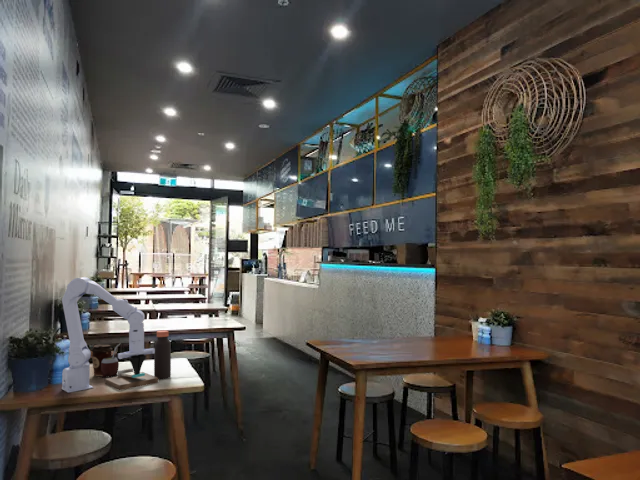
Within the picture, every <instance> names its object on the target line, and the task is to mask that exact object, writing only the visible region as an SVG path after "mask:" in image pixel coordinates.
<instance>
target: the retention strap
mask: <svg viewBox="0 0 640 480" xmlns="http://www.w3.org/2000/svg"><path fill="white" fill-rule="evenodd" d="M145 373H146V372H144V373H140V374H134V371H133V372H128V373H122V374H121V376H127V377H132V378H135V377H140V376H145Z"/></svg>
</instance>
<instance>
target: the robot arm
mask: <svg viewBox="0 0 640 480" xmlns="http://www.w3.org/2000/svg"><path fill="white" fill-rule="evenodd" d="M85 294H87V295H95V296H97V297H98V298H100V299H101V300H103V301H105V302H106V303H107V304H109V305H111V307H112V311H113V312H114V313H117V314H118V315H119V316H120V317H122V318H123V319H124V320H127V323H128V324H129V330H128V343H129V344H128V345H129V346H128V347H129V348H128V349H129V351H124V352H120V353H117V360H118V359H119V360H121V359H122V360H123V359H125V358H128V361H129V362H130V364H131V366H132V369H133V372H134V374H140V372H141V369H142V366H143V363H144V362H145V359H146V355H151V354H153V355H154V353H155V349H154V347H153V348H151V347H150V348H145V328H144V327H145V324H144V321H145V318H146V317H145V313H144V312H143V311H142V310H141V309H138V307H136V306H135V307H134V306H133V305H132V304H130V303H129V301H128V299H126V298H125V299H123V298H116V297H115V296H114V295H113V294H111V292H109V291H108V290H106V289H105V288H104V287H102V286H101V285H100V284H99V283H98V282H96V281H94V280H92V279H90V278H89V277H87V276H82V277H75V278H73V279H72V280H71V281H70V282H69V283H68V284H67V285H66V289H65V291H64V294H63V296H62V299H61V302H62V308H63V313H64V318H65V323H66V324H65V325H66V329H67V333H68V334H67V335H68V339H69V340H68V341H69V349H68V357H67V361H68V364H69V366H68V367H65V368H63V369H62V372H61V373H62V377H61V381H62V382H61V389H62V390H63V391H64V392H66V393H74V392H79V391H84V390H88V389H93V388H94V386H92V385H90V380H91V379H90V374H91V373H90V372H91V371H90V370H91V368H90V366H91V365H90V362H89V360H90V359H91V358H92V356H91V355H92V351H91V350H90V349H89V347H88V344H87V341H85V339H84V333H83V327H82V321H81V317H80V311H79V306H78V301H79V300H80V299H81V298H82V297H83V295H85Z"/></svg>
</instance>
